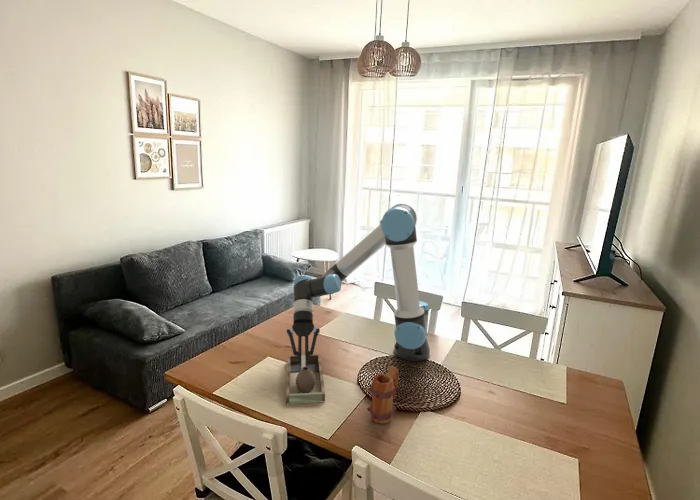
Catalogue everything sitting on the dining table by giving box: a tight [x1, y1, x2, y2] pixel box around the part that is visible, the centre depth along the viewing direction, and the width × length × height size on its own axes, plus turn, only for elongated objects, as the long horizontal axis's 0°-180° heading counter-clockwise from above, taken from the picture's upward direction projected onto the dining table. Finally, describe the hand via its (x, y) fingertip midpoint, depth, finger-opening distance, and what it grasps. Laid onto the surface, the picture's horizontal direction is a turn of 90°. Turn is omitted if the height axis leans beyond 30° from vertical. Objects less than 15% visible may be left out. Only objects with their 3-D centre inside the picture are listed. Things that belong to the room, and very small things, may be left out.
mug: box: [366, 365, 400, 424], centre depth 127 cm, size 15×8×15 cm, turn 148°
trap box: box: [285, 353, 326, 405], centre depth 147 cm, size 28×13×3 cm, turn 8°
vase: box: [295, 367, 316, 393], centre depth 140 cm, size 7×7×9 cm
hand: (303, 373), depth 144 cm, fingers closed
